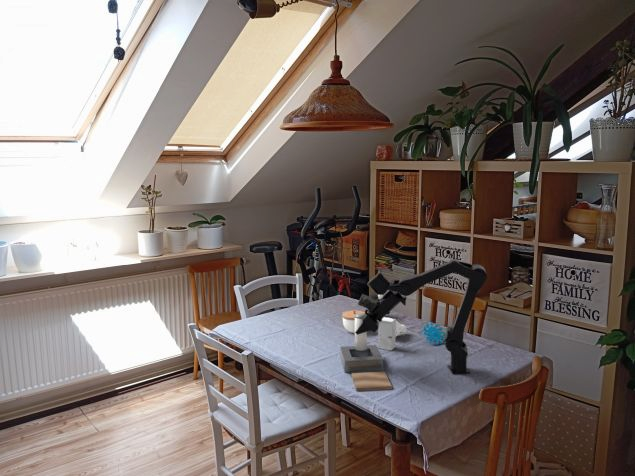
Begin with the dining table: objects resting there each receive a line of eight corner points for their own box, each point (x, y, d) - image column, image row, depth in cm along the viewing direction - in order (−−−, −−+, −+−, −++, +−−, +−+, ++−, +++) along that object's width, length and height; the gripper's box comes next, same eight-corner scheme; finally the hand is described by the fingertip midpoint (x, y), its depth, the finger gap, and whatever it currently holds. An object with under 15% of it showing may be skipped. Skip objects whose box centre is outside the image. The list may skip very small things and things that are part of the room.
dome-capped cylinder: (367, 350, 198) (367, 316, 196) (355, 350, 198) (355, 317, 196) (365, 346, 203) (365, 312, 200) (354, 346, 202) (353, 313, 200)
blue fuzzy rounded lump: (426, 343, 216) (421, 321, 222) (420, 349, 221) (415, 327, 227) (451, 343, 219) (445, 321, 225) (444, 350, 224) (438, 328, 230)
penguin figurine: (380, 317, 227) (401, 315, 234) (378, 337, 228) (399, 334, 235) (390, 321, 222) (411, 318, 229) (388, 341, 223) (409, 338, 230)
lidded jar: (370, 332, 235) (370, 312, 233) (348, 336, 231) (348, 315, 229) (360, 325, 245) (360, 305, 243) (338, 328, 241) (338, 308, 239)
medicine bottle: (367, 319, 253) (367, 294, 251) (370, 314, 260) (370, 290, 258) (382, 320, 251) (382, 295, 249) (385, 315, 258) (385, 291, 256)
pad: (391, 388, 180) (391, 386, 180) (356, 390, 179) (356, 388, 179) (384, 374, 192) (384, 371, 192) (351, 375, 191) (351, 373, 191)
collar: (383, 370, 195) (383, 358, 194) (344, 372, 194) (344, 360, 193) (376, 356, 209) (375, 345, 208) (340, 357, 208) (340, 346, 207)
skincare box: (377, 348, 217) (377, 319, 215) (382, 344, 220) (381, 316, 218) (392, 350, 214) (392, 321, 212) (396, 347, 217) (396, 318, 215)
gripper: (373, 281, 205) (345, 308, 209) (368, 295, 187) (337, 324, 191) (394, 302, 204) (365, 328, 208) (391, 317, 186) (359, 346, 190)
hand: (357, 331), depth 200 cm, fingers closed on dome-capped cylinder, 4 cm apart
